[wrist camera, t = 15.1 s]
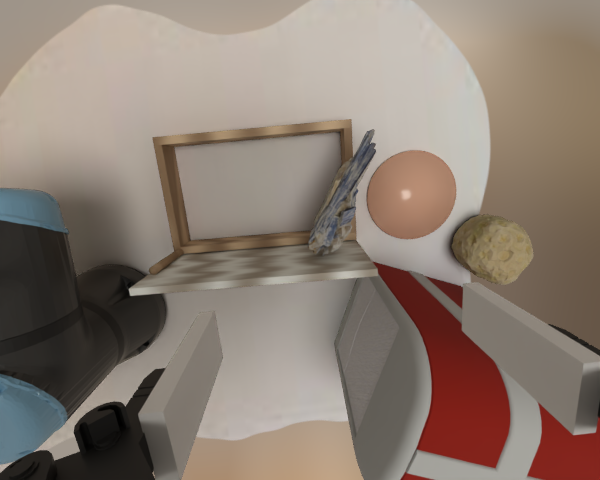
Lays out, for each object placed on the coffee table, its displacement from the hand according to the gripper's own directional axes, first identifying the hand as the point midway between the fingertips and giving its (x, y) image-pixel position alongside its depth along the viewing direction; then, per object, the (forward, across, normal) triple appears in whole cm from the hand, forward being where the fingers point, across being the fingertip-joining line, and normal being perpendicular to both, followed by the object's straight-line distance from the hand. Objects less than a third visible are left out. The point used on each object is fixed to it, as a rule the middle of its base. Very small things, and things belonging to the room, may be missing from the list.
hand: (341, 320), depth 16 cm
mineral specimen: (+21, +5, +12) cm, 25 cm away
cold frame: (+31, -6, +5) cm, 32 cm away
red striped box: (+31, +14, -18) cm, 38 cm away
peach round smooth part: (+30, +16, +2) cm, 34 cm away
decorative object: (+30, +29, -6) cm, 42 cm away
